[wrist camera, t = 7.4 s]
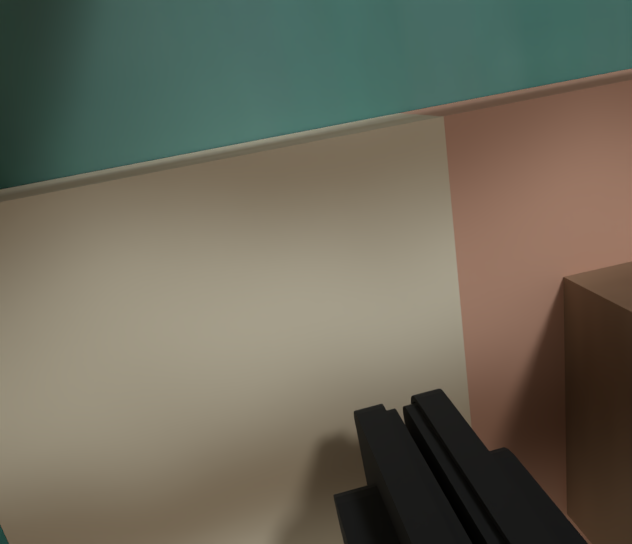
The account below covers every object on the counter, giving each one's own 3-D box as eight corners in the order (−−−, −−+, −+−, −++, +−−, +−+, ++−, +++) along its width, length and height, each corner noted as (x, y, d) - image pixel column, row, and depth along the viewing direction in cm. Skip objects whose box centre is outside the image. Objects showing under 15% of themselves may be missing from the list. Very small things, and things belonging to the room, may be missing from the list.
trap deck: (-59, 200, 11) (-138, 229, 8) (1066, -15, 13) (1245, -40, 11) (117, 630, 15) (97, 732, 12) (959, 395, 17) (1075, 441, 15)
